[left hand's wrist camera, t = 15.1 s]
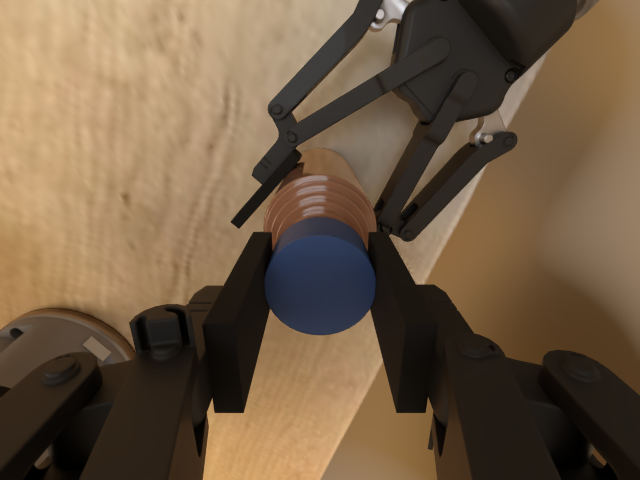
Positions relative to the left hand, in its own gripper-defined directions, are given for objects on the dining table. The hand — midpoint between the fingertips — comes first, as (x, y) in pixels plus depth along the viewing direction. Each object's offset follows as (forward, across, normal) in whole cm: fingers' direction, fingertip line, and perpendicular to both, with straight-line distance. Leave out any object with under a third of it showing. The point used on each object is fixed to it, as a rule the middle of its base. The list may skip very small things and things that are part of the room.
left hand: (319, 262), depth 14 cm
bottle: (+17, 0, 0) cm, 17 cm away
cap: (-2, 0, 0) cm, 2 cm away
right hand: (+11, -4, -4) cm, 12 cm away
